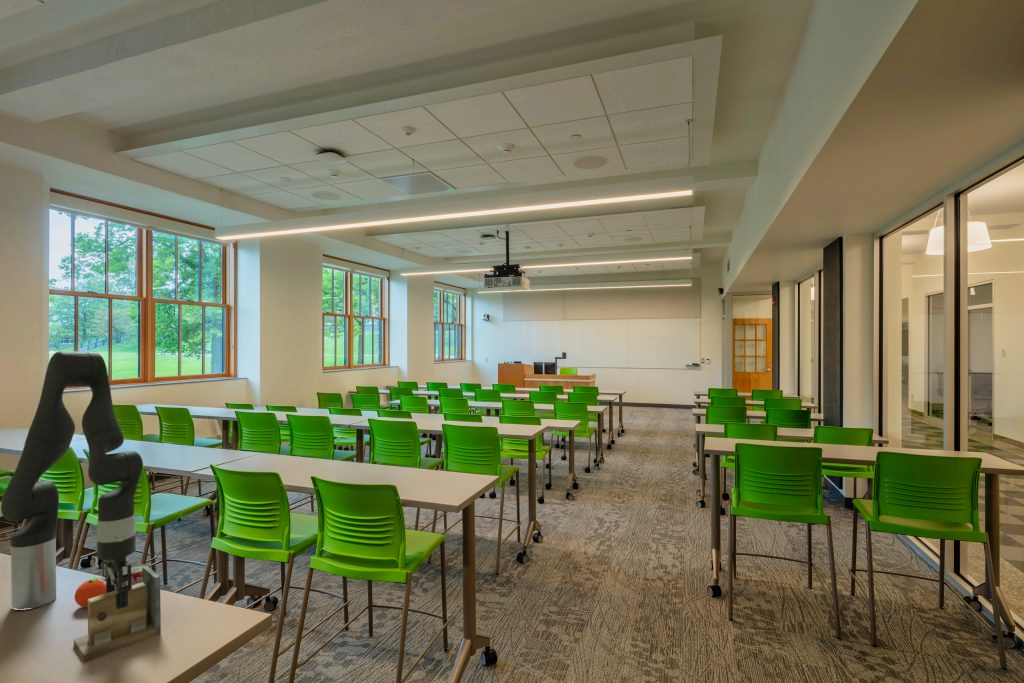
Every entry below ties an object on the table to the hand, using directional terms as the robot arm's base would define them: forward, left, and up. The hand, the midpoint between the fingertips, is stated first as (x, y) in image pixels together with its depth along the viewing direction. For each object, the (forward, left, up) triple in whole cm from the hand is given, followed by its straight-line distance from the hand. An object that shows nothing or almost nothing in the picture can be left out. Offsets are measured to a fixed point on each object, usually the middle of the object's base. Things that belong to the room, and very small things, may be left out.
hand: (116, 601), depth 127 cm
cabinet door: (0, 0, -8) cm, 8 cm away
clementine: (-26, +1, -9) cm, 28 cm away
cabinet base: (0, 0, -9) cm, 9 cm away
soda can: (-11, +7, -9) cm, 16 cm away
